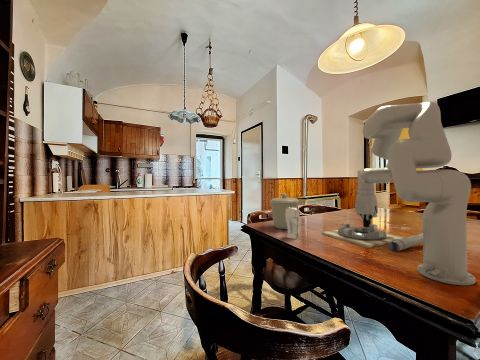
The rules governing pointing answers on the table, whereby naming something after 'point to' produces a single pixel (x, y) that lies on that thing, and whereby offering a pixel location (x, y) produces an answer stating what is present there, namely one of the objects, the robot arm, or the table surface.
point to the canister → (282, 209)
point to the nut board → (363, 243)
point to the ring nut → (361, 232)
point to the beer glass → (292, 222)
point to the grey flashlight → (406, 242)
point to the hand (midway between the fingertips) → (367, 226)
